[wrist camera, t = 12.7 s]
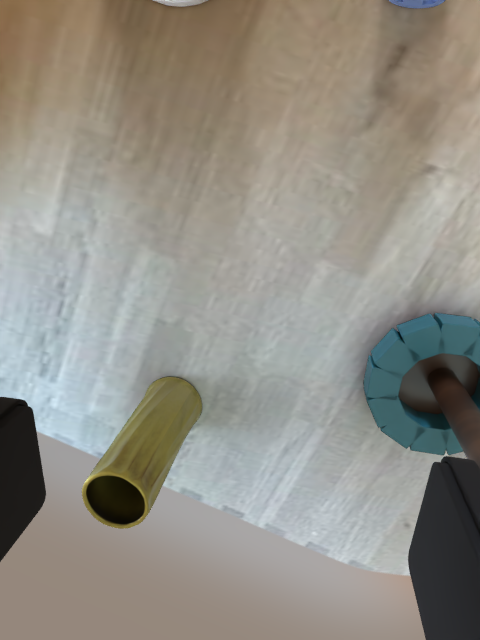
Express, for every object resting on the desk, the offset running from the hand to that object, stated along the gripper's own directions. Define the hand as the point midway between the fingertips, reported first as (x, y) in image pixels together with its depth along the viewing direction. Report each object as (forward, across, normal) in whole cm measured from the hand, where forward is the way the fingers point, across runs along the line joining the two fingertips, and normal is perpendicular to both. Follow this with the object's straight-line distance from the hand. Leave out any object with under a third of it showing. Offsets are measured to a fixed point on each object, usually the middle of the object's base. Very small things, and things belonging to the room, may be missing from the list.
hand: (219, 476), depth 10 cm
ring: (+28, -14, +11) cm, 33 cm away
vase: (+29, +10, +18) cm, 36 cm away
